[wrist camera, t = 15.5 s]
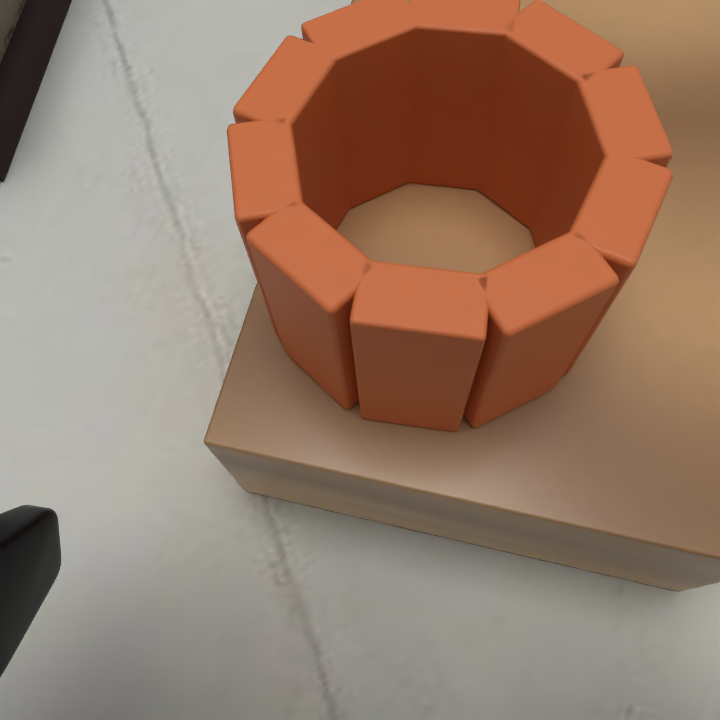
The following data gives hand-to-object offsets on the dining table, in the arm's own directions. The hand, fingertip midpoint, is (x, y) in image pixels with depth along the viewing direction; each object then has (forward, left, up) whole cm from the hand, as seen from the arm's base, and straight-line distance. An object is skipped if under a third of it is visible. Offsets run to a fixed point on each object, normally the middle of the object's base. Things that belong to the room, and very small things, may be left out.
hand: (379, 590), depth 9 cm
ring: (+5, -4, -3) cm, 7 cm away
